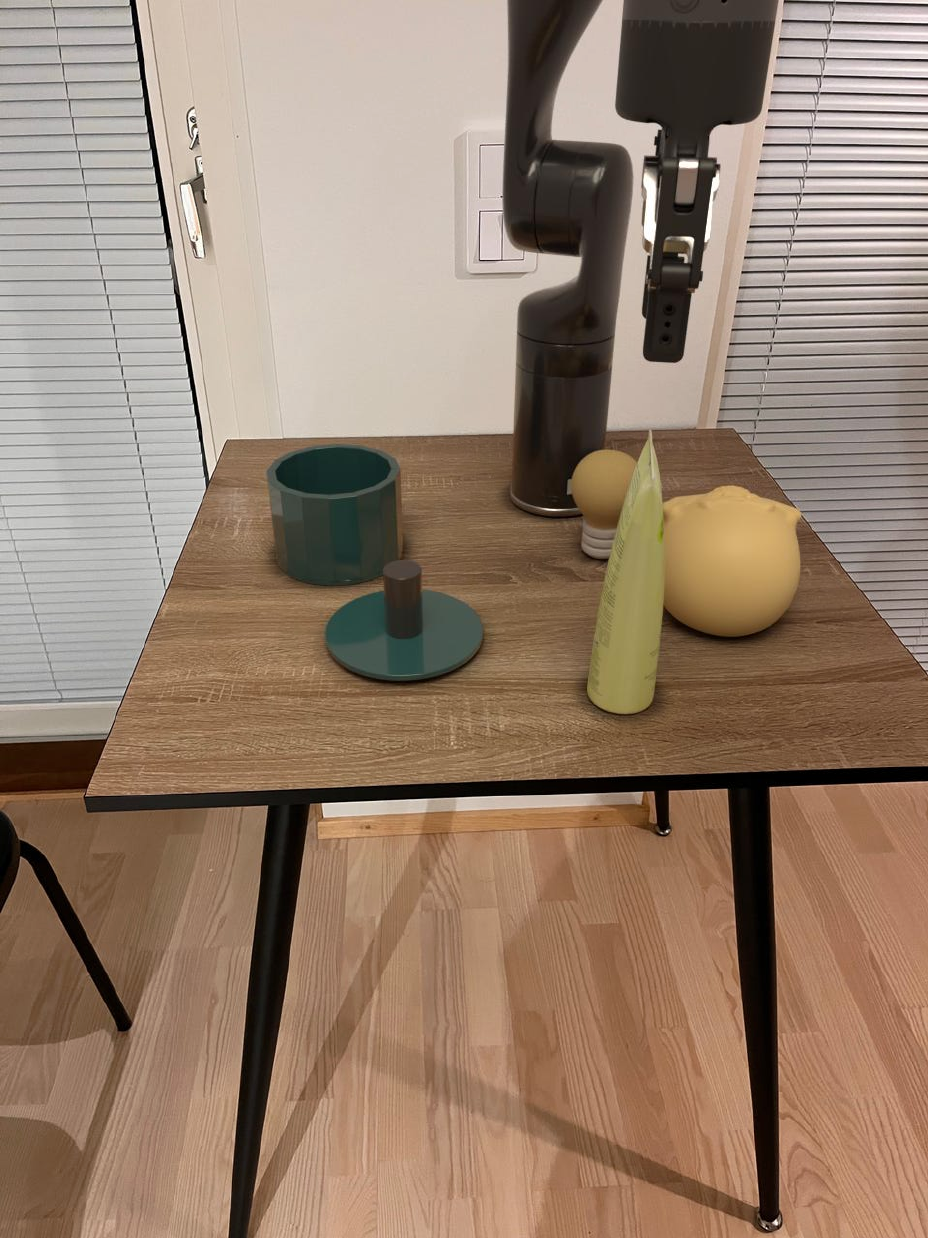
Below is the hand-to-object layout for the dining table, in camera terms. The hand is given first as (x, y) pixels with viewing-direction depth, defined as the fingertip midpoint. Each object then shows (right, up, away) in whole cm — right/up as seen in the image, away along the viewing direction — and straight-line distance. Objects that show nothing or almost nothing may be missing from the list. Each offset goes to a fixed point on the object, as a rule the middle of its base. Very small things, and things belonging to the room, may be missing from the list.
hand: (660, 338), depth 56 cm
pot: (-23, -11, +32) cm, 41 cm away
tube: (0, -23, +14) cm, 27 cm away
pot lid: (-16, -18, +20) cm, 32 cm away
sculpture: (+10, -16, +24) cm, 31 cm away
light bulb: (+1, -11, +33) cm, 35 cm away
